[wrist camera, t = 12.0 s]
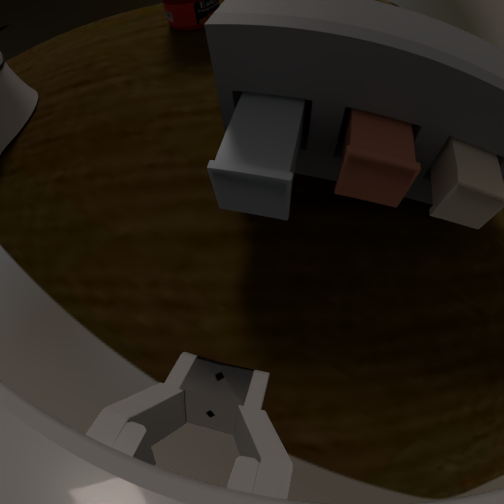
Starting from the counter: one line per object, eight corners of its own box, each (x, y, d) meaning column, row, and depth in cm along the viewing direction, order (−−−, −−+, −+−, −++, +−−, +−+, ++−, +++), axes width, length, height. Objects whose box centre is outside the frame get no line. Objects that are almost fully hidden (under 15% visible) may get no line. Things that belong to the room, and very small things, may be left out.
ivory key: (478, 229, 18) (510, 200, 14) (429, 215, 19) (458, 181, 15) (466, 152, 21) (488, 118, 17) (423, 137, 21) (441, 99, 17)
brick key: (396, 207, 19) (420, 169, 15) (333, 193, 20) (346, 151, 16) (394, 129, 22) (410, 89, 18) (342, 116, 22) (350, 74, 18)
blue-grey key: (287, 220, 19) (291, 180, 15) (219, 208, 20) (206, 167, 16) (305, 133, 22) (309, 88, 18) (247, 124, 22) (242, 80, 18)
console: (467, 214, 22) (552, 119, 10) (230, 163, 25) (204, 24, 13) (458, 154, 25) (516, 57, 13) (250, 107, 28) (239, -15, 15)
